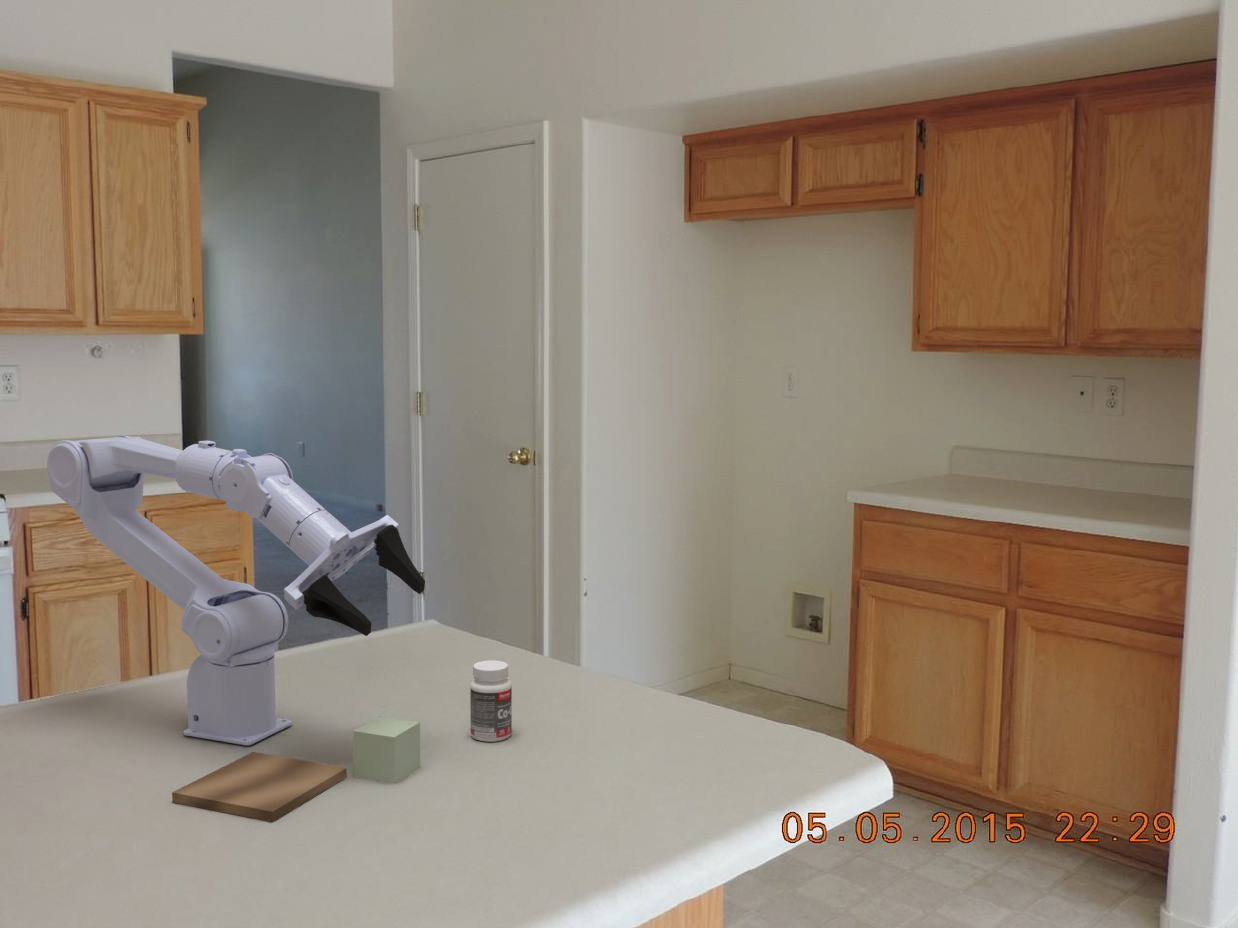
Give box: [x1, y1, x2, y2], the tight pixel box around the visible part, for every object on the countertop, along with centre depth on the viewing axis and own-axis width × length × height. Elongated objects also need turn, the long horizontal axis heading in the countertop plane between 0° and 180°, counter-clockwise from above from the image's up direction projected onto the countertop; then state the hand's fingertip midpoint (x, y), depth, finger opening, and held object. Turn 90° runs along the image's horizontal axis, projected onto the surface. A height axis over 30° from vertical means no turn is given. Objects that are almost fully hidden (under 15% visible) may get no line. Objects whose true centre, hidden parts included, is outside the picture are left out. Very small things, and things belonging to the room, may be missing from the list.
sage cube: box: [352, 716, 421, 784], centre depth 120 cm, size 5×5×5 cm
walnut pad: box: [171, 751, 348, 823], centre depth 115 cm, size 12×12×1 cm
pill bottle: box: [469, 660, 513, 743], centre depth 131 cm, size 5×5×8 cm
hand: (396, 608), depth 120 cm, fingers open, 7 cm apart
